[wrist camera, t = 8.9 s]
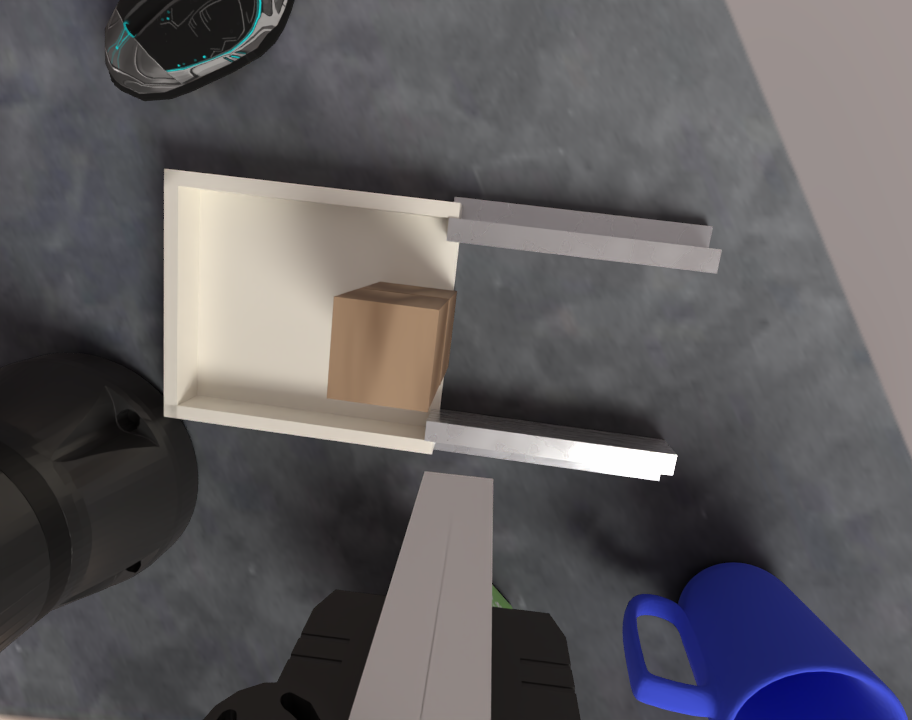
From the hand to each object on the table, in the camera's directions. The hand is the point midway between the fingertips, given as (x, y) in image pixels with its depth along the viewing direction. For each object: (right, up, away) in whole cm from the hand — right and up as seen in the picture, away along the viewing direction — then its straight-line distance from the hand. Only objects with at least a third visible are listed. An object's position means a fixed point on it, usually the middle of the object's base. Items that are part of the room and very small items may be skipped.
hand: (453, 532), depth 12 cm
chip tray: (-8, +7, +21) cm, 23 cm away
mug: (+15, -11, +23) cm, 30 cm away
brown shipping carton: (-1, +4, +14) cm, 14 cm away
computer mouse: (-13, +22, +18) cm, 32 cm away
